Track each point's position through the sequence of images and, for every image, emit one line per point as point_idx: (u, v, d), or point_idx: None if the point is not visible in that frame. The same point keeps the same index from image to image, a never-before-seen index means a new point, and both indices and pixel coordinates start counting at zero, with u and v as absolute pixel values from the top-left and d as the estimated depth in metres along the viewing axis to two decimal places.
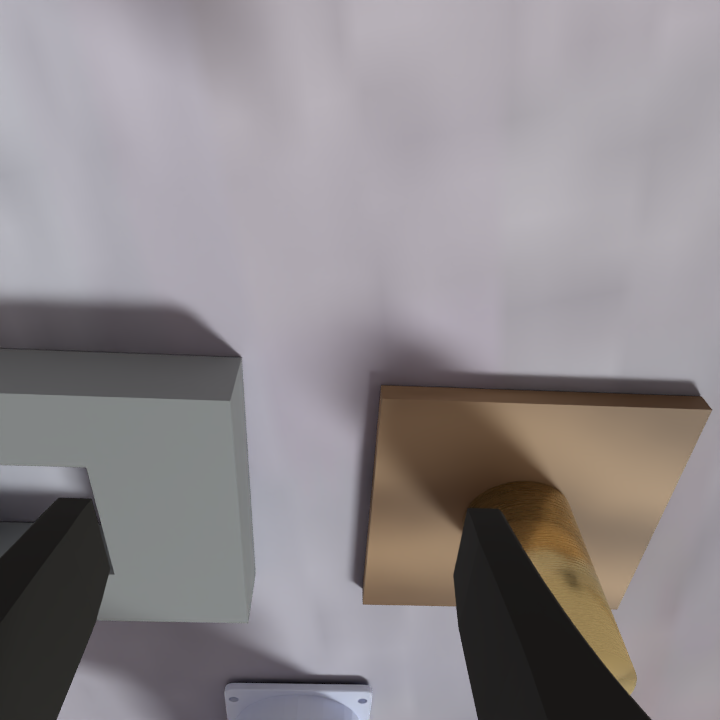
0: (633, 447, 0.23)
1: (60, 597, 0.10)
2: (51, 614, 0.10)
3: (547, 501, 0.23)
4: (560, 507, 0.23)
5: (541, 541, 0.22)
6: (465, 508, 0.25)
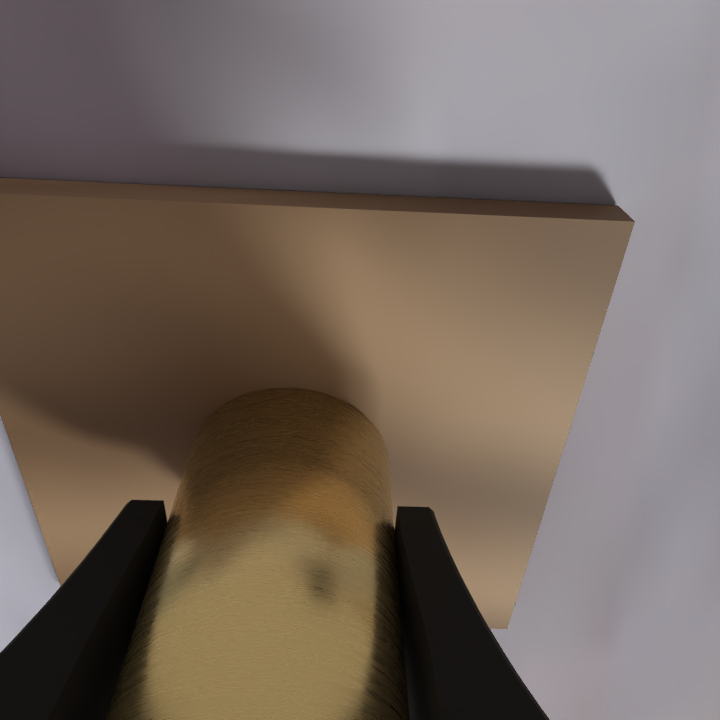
0: (483, 313, 0.12)
1: (140, 598, 0.10)
2: (132, 615, 0.10)
3: (314, 422, 0.12)
4: (342, 435, 0.12)
5: (261, 495, 0.10)
6: (189, 445, 0.13)
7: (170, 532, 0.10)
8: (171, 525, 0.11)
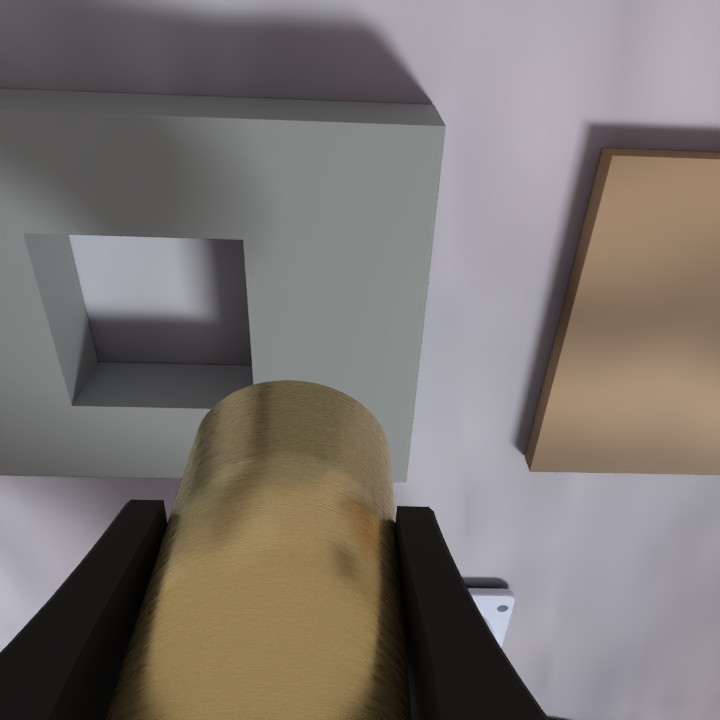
0: None
1: (139, 598, 0.10)
2: (132, 614, 0.10)
3: (313, 413, 0.12)
4: (340, 426, 0.12)
5: (260, 485, 0.10)
6: (682, 328, 0.20)
7: (172, 524, 0.11)
8: (173, 517, 0.11)
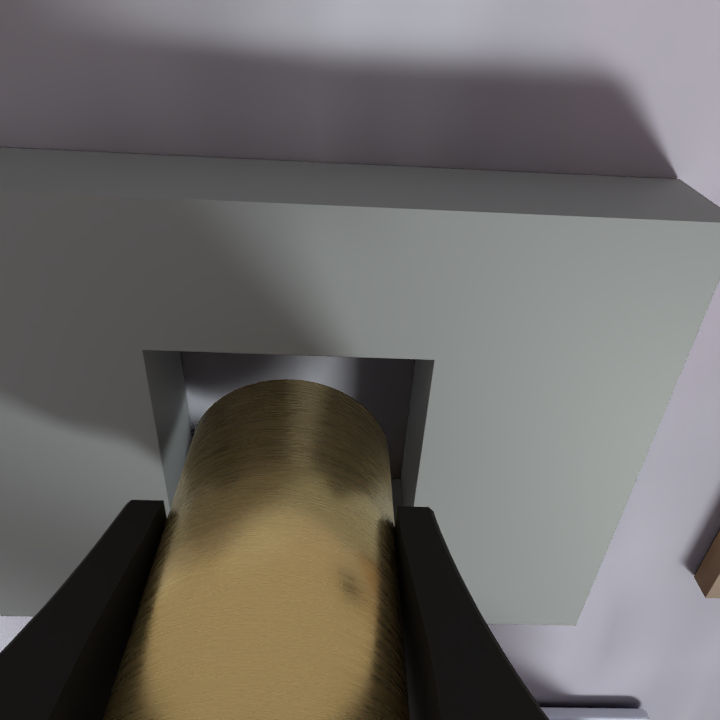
0: None
1: (140, 598, 0.10)
2: (132, 615, 0.10)
3: (311, 413, 0.12)
4: (338, 425, 0.12)
5: (258, 484, 0.10)
6: None
7: (170, 523, 0.11)
8: (171, 516, 0.11)
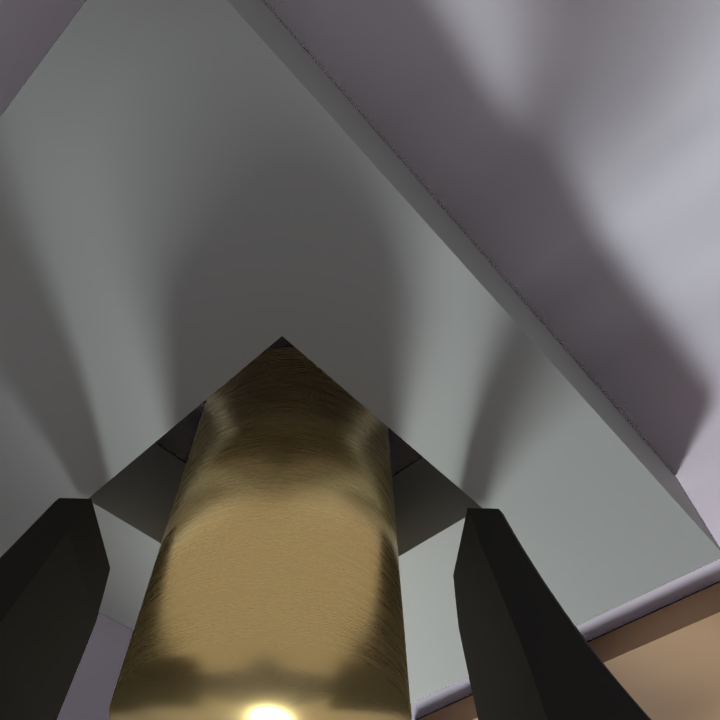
0: None
1: (60, 597, 0.10)
2: (51, 614, 0.10)
3: (315, 375, 0.13)
4: (340, 387, 0.13)
5: (268, 435, 0.11)
6: None
7: (188, 472, 0.12)
8: (188, 466, 0.12)
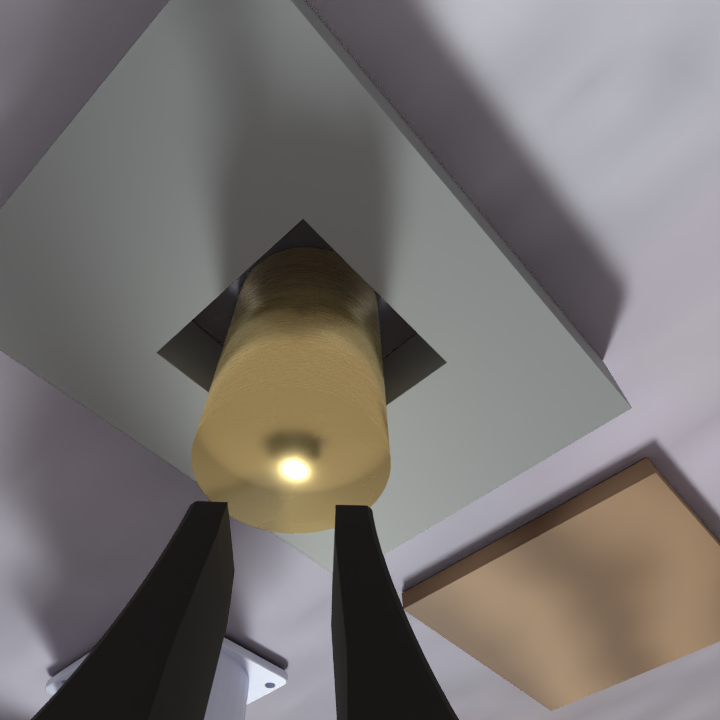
0: (717, 610, 0.27)
1: (210, 600, 0.10)
2: (205, 616, 0.10)
3: (324, 263, 0.17)
4: (343, 272, 0.17)
5: (292, 294, 0.16)
6: (579, 584, 0.26)
7: (233, 324, 0.16)
8: (233, 322, 0.16)
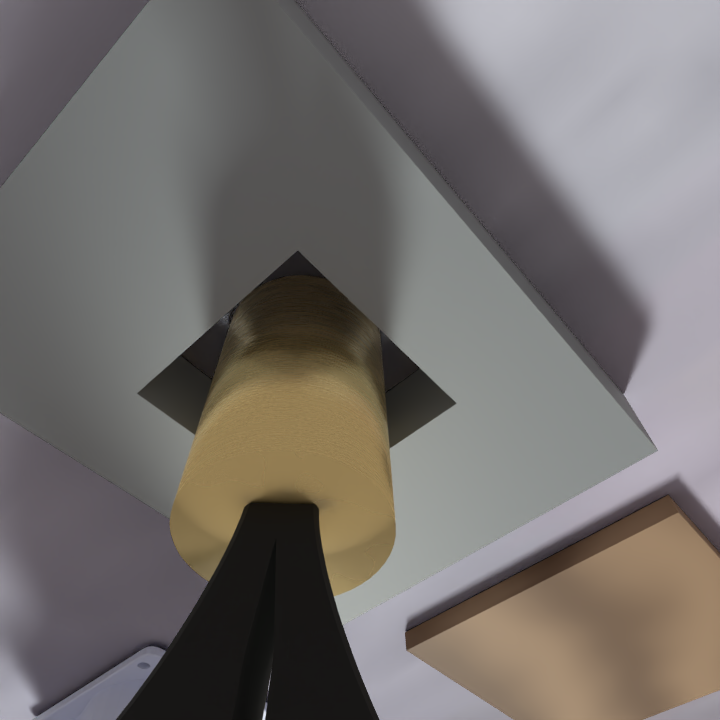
0: None
1: (270, 601, 0.10)
2: (266, 617, 0.10)
3: (322, 295, 0.16)
4: (343, 304, 0.16)
5: (285, 332, 0.14)
6: (594, 625, 0.24)
7: (220, 364, 0.15)
8: (221, 361, 0.15)
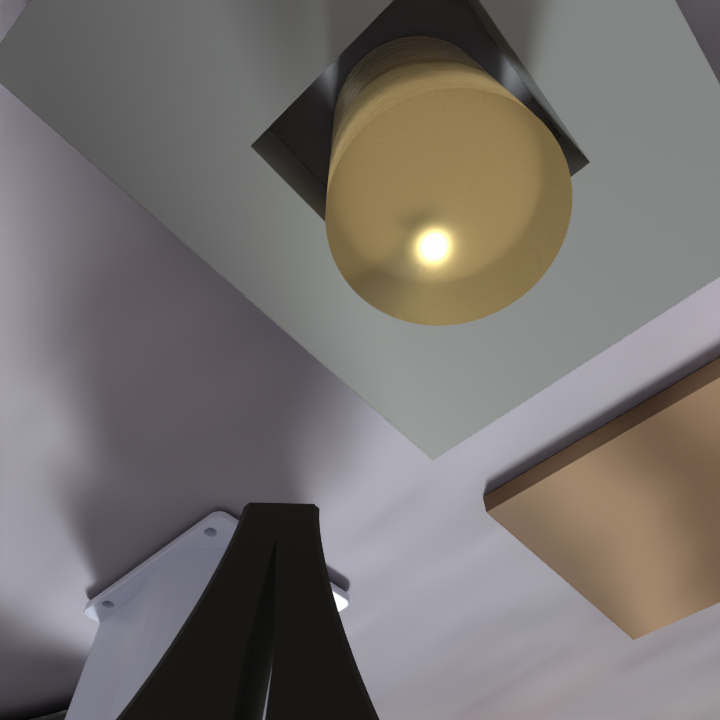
0: None
1: (270, 601, 0.10)
2: (266, 617, 0.10)
3: (447, 44, 0.15)
4: (468, 55, 0.15)
5: (423, 52, 0.13)
6: (685, 481, 0.23)
7: (349, 96, 0.14)
8: (347, 97, 0.14)
